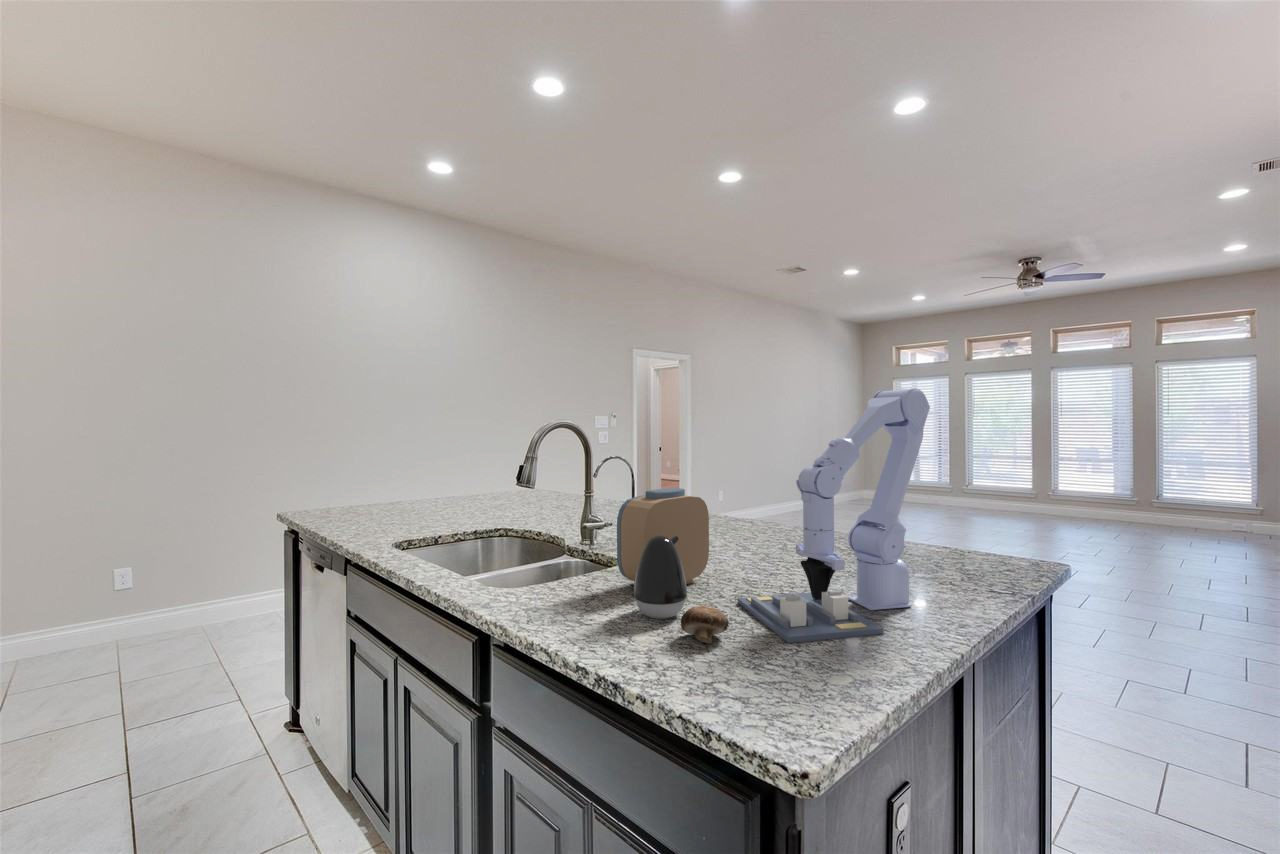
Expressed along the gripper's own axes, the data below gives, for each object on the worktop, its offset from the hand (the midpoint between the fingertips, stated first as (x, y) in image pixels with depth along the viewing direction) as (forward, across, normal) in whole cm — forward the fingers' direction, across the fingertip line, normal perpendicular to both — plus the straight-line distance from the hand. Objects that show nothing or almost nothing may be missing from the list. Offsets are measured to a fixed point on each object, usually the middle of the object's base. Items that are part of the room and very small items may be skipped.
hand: (818, 598), depth 112 cm
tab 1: (+2, +7, -9) cm, 11 cm away
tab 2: (+2, +6, 0) cm, 6 cm away
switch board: (+3, +2, -4) cm, 5 cm away
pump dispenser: (+3, -6, -30) cm, 31 cm away
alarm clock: (+3, -26, -24) cm, 36 cm away
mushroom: (+3, +8, -26) cm, 27 cm away
